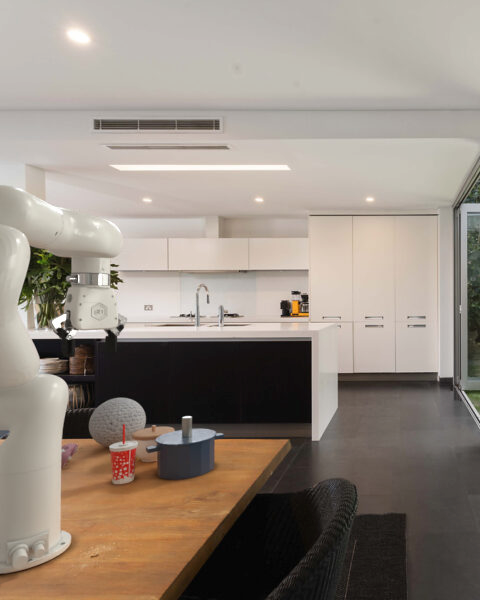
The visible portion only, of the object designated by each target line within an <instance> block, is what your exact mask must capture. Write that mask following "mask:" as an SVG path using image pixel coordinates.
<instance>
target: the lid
mask: <svg viewBox="0 0 480 600" xmlns="http://www.w3.org/2000/svg"><path fill="white" fill-rule="evenodd" d="M216 434H217V431H216V430H214V429H210V428H193V416H191V415H185V416H182V417H181V429H179V430H175V431H174V432H169V433H166V434H163V435H161V436H159V437H157V438H156V443H157V444H159V445H163V446H186V445H193V444H198V443H202V442H206V441H208V440H211V439H213V438H214V437H216Z"/></svg>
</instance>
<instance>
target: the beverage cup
mask: <svg viewBox="0 0 480 600" xmlns="http://www.w3.org/2000/svg"><path fill="white" fill-rule="evenodd" d="M137 444H138V442H136V441H125V424H123V442H118V443H115V444H112V445H110V446H109V447H108V448H109V451H110V464H111V480H112V484H114V485H123V484H128V483H131V482H132V481H134V480H135V473H136V472H135V471H136V459H137V458H136V457H137V456H136V447H137V446H138V445H137Z"/></svg>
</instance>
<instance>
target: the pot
mask: <svg viewBox="0 0 480 600" xmlns="http://www.w3.org/2000/svg"><path fill="white" fill-rule="evenodd" d="M216 433H217V432H216ZM222 439H225V434H224V433H222V432H218V433H217V434H216V437H214V438H213V439H211V440H208V441H206V442H202V443H198V444H193V445H186V446H163V445H159V444H157V445H155V446H149V447H146V452H148V453H152V452H157V461H156V474H157V476H158V477H159V478H161V479H164V480H174V481H175V480H186V479H187V480H188V479H192V478H196V477H197V478H198V477H200V476H203V475H206V474H207V473H210V472H212V471H213V470H214V468H215V464H216V463H215V462H216V461H215V459H216V458H215V457H216V455H215V454H216V453H215V452H216V451H215V449H216V448H215V447H216V446H215V445H216V443H215V442H216V440H217V441H218V440H222Z"/></svg>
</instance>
